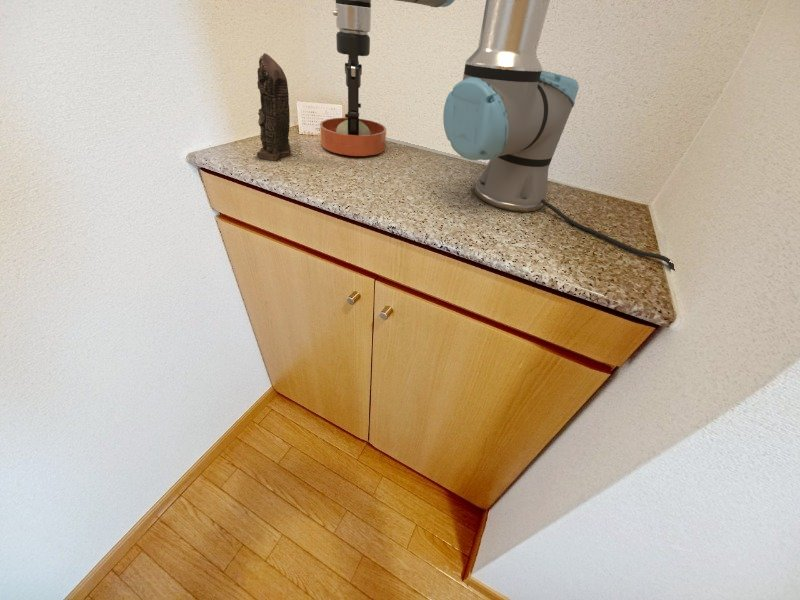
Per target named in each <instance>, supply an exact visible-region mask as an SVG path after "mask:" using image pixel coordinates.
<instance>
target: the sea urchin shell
mask: <svg viewBox="0 0 800 600" xmlns="http://www.w3.org/2000/svg"><path fill="white" fill-rule="evenodd" d="M336 132H337V133H342V134H348V120H345V121H343V122H342V123H340V124H339V125H338V127H337V129H336ZM359 135H371V133H370V130H369V128H368V127H367V126H366V125H365V124H364V123H363V122H361V121H359Z"/></svg>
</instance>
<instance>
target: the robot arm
mask: <svg viewBox="0 0 800 600" xmlns="http://www.w3.org/2000/svg"><path fill="white" fill-rule="evenodd" d="M395 1H397V2H403V3H411V4H417V5H421V6H428V7H431V8H446V7H449V6H451V5H452V4H453V3H454V2H455V0H395ZM550 3H551V0H486V1H485V5H484V12H483V17H482V23H481V28H480V33H479V40H478V46H477V48H476V50H475V51H474V52H473V53H471V55H470V56H469V57H468V58H467V59H466V60H465V65H464V71H463V75H462V80H461V81H459V82H457V83H456V84H454V86H453V87H452V90H451V91H450V92H448V94H447V96H446V98H445V101H444V102H445V103H444V106H443V112H442V113H443V115H442V119H443V129H444V133H445V136H446V139H447V140H448V141H449V142H450V147H451V148H452V149H453V150H454V152H456V153H457V154H458V155H459V156H460V157H462V158H463V159H466V160H470V161H481V160H482V161H488V162H487V164H486V166H485V167H484V169H483V171H482V172H481V174H480V176H479V177H478V179H477V182H476V184H475V188H474V193H475V195H476V196H477V197H478V198H479V199H480V200H481V201H483V202H485V203H487V204H488V205H490V206H492V207H496V208H499V209H502V210H506V211H511V212H525V213H528V212H534V211H539V210H540V209H542V208H543V207H544V206H545V207H546V208H548V209H550V210H551V211H552V212H554V213H555V214H556V215H558V216H559V217H560V218H561V219H563V220H564V221H566V222H567V223H569V224H571V225H573V226H574V227H576V228H578V229H580V230H583V231H584V232H587V233H589V234H591V235H594V236H596V237H599V238H601V239H603V240H605V241H607V242H608V243H611V244H614V245H615V246H618V247H620V248H622V249H625V250H627V251H629V252H632V253H634V254H637V255H639V256H644V257H648V258H654V259H658V260H661V261H662V262H665V263H666V264H667V265H668V266H669V268H670V269H671V270H673V271H674V272H676V271H675V269H674V264H675V263H674V262H673V263H674V264H673V263H671V262H669V261H670V260H671V258H669V257H667V256H665V255H662V254H658V253H654V252H649V251H644V250H641V249H637V248H635V247H633V246H631V245H629V244H626V243H623V242H621V241H620V240H617V239H615V238H612V237H610V236H609V235H606V234H603V233H602V232H599V231H597V230H595V229H593V228H590V227H588V226H585V225H583V224H581V223H579V222H577V221H575V220H574V219H571V218H570V217H568V216H567V215H566V214H565V213H563V212H561V211H560V210H559V209H557V208H556V207H555V206H553V205H552V204H551V203H550V202H548V201H546V199H547V195H548V178H549V168H550V164H551V162H552V160H553V157H554V155H555V152H556V149H557V147H558V145H559V142H560V140H561V137H562V135H563V132H564V130H565V127H566V125H567V122H568V119H569V117H570V115H571V112H572V109H573V108H574V107H575V105H576V98H577V95H578V92H579V88H580V85H579V82H578V81H577V80H576V79H575V78H573V77H570V76H566V75H562V74H559V73H555V72H551V71H547V70H543V66H542V65H541V62H540V60H539V58H538V55H537V51H538V47H539V43H540V41H541V35H542V33H543V29H544V25H545V20H546V18H547V17H546V16H547V12H548V9H549V6H550ZM335 8H336V9H333V10H332V15H333V16H334V17H336V18H335V25H336V26H335V27H336V28H337V29H338V31H337V32H336V35H335V36H336V37H335V38H336V51H337V53H339V54H341V55H347V56H348V57H347V62H344V74H345V85H346V87H347V113H345V114H344V118H348V134H349V135H359V119H360V112H359V111H360V110H359V109H361V108H362V103H359V100H360V98H359V97H360V96H359V95H360V93H359V91H360V90H359V89H360V88H361V85H362V83H361V82H362V79H361V76H362V74H363V65H362V64H360V61H359V57H368V56H369V55H370V54H371V51H370V50H371V49H370V48H371V37H370V35H369V33H370V32H371V26H372V25H371V24H372V23H371V21H372V0H335Z"/></svg>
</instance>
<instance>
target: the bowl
mask: <svg viewBox="0 0 800 600" xmlns="http://www.w3.org/2000/svg"><path fill="white" fill-rule="evenodd" d="M345 120H348V118H345V117H334V118H333V117H332V118H327V119H325V120H321V122H320V123H319V135H320V144H321V147H322V148H324V149H325V150H327V151H328V152H331V153H334V154H337V155H341V156H347V157H368V156H374V155H378V154H381V153H382V152H384V151H385V150H386V146H387V145H386V143H387V128H386V126H385V125H383V124H381V123H379V122H377V121H373V120H370V119H364V118H359V121H361V122H363V123H364V124H365V125H366V126H367V127H368V128H369V130H370V133H371V135H349V134H342V133H337V132H336V129H337V127H338V125H339V124H340V123H342V122H343V121H345Z"/></svg>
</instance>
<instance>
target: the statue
mask: <svg viewBox="0 0 800 600" xmlns="http://www.w3.org/2000/svg"><path fill="white" fill-rule="evenodd" d="M257 89H258V90H259V95H260V106H261V107H260V108H259V109H258V112H257V114H258V117H259V118H258V126H259V127H260V135H259V139H260V141H261V145H262V147H261V148H260V150H259V151H256V157H257V158H258V159H263V160H267V161H273V162H277V161H279V160H280V159H281V158H286V157H289V156H290V155H291V154H292V149H291V146H290V140H289V135H290V122H291V119H290V117H291V115H290V97H289V86H288V79H287V77H286V74H285V71H284V70H283V68H282V67H281V66H280V65H279V64H278V62H277V61H276V60H275V59H273V58H272V56H270V55H269V54H268V53H266V52H264V53H263V54H262V55H260V57H259V59H258V68H257Z"/></svg>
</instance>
